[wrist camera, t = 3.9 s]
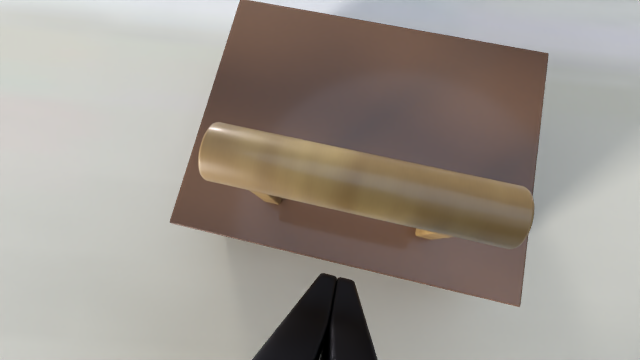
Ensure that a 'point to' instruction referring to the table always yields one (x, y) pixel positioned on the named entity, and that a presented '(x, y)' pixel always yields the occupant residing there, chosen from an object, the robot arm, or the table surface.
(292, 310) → the robot arm
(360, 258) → the lid
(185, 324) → the table surface
